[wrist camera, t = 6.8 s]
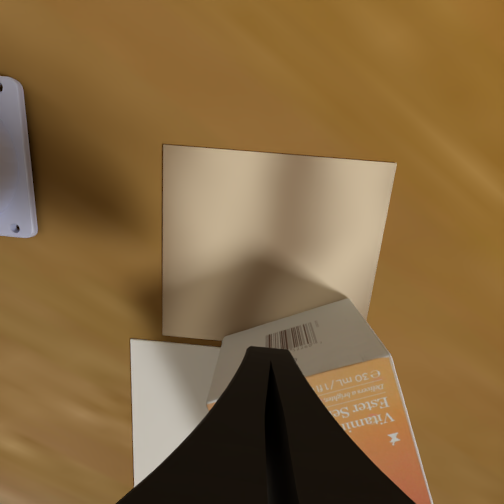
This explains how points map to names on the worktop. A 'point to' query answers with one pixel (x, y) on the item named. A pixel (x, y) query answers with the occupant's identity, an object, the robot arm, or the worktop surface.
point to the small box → (341, 383)
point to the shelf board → (266, 236)
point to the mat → (167, 397)
